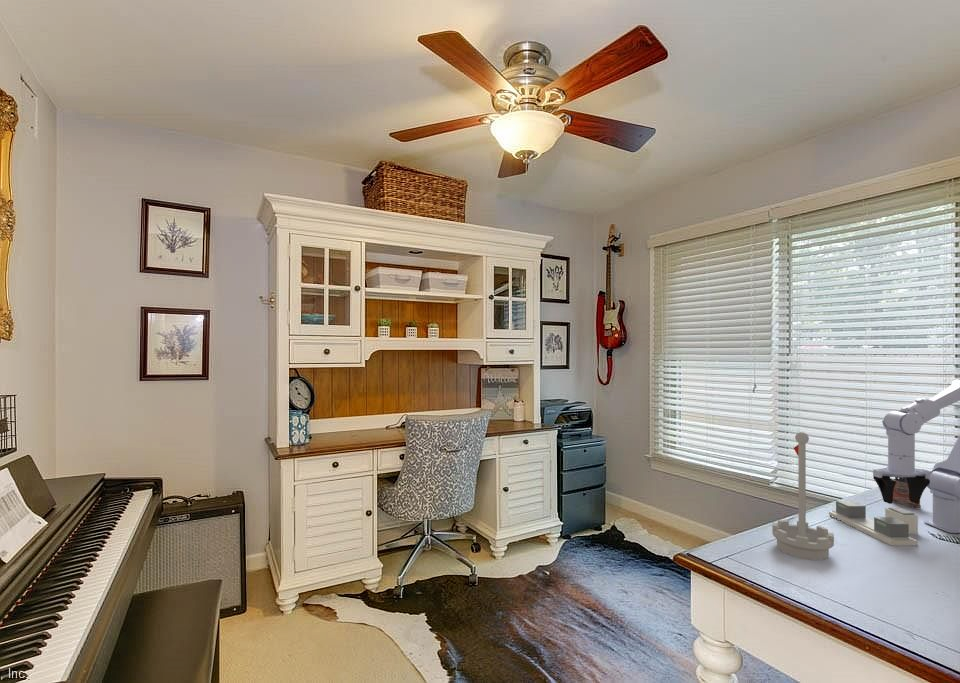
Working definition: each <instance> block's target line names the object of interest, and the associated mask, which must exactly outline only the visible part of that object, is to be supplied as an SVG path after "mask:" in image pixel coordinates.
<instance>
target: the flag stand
mask: <svg viewBox="0 0 960 683" xmlns="http://www.w3.org/2000/svg"><path fill="white" fill-rule="evenodd" d="M794 437H795V438H794V439H795V441H796V442H797V443H798V444H797V445H795V446H794V447H793V450H794V451H795V454H796V455H797V457H798V458H797V459H798V469H797V470H798V472H797V473H798V482H797V483H798V484H797V485H798V520H796V524H790V522H789V520H787V519H780V520H777V523H776V522H773V523H772V524H771V525H772V530H771V531H772V532H771V533H772V536H773V537H774V538H775V539H776V547H777V548H778V549H779V550H780V551H781V552H783V553H785V554H786V555H790V556H793V557H796V558H800V559H804V560H812V561H815V560H816V561H819V560H820V561H822V560H821V559H823V560H826V559H828V558H829V557H830V549H831V548H833V547H834V546H835V534H834V532H829V529H828V528H826V527H824V526H822V525H816V528H815V527H810V526H809V522H807V519H806V518H807V517H806V514H807V513H806V508H807V506H806V501H807V500H806V490H807V489H806V485H807V484H806V483H807V482H806V480H807V479H806V478H807V476H806V474H807V473H806V472H807V470H806V468H807V467H806V464H807V463H806V456H807V455H806V454H807V453H806V452H807V451H806V448H807V447H806V446H807V445H806V444H807V443H808V442H809V439H810V437H809V435H808V434H807V433H806V432H803V431H801V432H797V433H796V434H795V436H794ZM828 556H829V557H828Z"/></svg>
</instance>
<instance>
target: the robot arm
mask: <svg viewBox="0 0 960 683" xmlns="http://www.w3.org/2000/svg"><path fill="white" fill-rule="evenodd" d="M950 383H951V384H950V386H947V387H946V388H945V389H944V390H942V391H940V392H938V393H937V394H935V395H934V396H932V397H931V398H916V399H915V400H914V402H913V403H911V404H909V405H907V406H903V407H901V409H900V410H898V411H897V410H896V411H895V410H892V411H889V412H888V413H887V414H885V416H884V418H883V419H882V421H881V422H882V425H883V428H884V429H885V433H886V435H887V436H886V437H887V466H886V467H883V468H873V469H872V476H873V479H874V481H875V483H876V484H877V486H878V489H879V491H880V493H881V497H882V500H883V502H884V503H887V504H889V505H890V504H893V503H892V501H893V491H894V487H895V484H896V481H894V480H891V479H892V478H895V477H906V479H907V483H908V487H909V499H910V502H913V503H916V504H919V501H920V502H921V498H922V495H923V493H924V492H925V489H926V488H928V489H929V490H930V491H929V492H930V494H932V520H924V522H923V523H924V524H926V525H930V526H932V527H934V528H937V529H940V530H942V531H944V532H947V533H951V534H960V434H959V435H958V438H957V440H956V441H955V443H954V445H953V447H952V449H951V451H950V452H949V454H948V456H947V458H946V459H945V460H943V461H940V462H937V463H935V464H934V466H933V467H932V469H931V470H927V469H923V468H922V469H921V468H916V466H915V465H916V464H915V461H916V459H915V458H916V455H915V454H916V450H915V448H916V444H915V442H916V441H915V440H916V438H915V437H916V434H917V433H919V432H920V430H921V428H922V427H923V425H924V424H925V423H928V422H930V421H932V420H933V419H935V418H937V417H938V416H940V415H941V414H940V413H941V410H942V409H944V408H947V407H949V406H951V405H953V404H956V403H958V402H959V401H960V377H958V378H957V379H955V380H953V381H951V382H950Z"/></svg>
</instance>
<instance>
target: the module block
mask: <svg viewBox="0 0 960 683" xmlns="http://www.w3.org/2000/svg"><path fill="white" fill-rule="evenodd" d="M884 509H885V510H884V514H885V515H884V517H893V518H895V519H898V520H900V521H903V522H905V523H907V524H909V534H919V515H917V514H915V513H914V512H912V511H910V510H906V509H904V508H901V507H896V506H891V507H890V506H888V507H886V508H885V507H884Z"/></svg>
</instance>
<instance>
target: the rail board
mask: <svg viewBox="0 0 960 683" xmlns="http://www.w3.org/2000/svg"><path fill="white" fill-rule="evenodd" d="M866 508H867V507H866V505H864V504H862V503H859V502H858V501H857V502H856V501H855V500H852V499H851V500H835V510H832V511H831V510H830V511H828V516H829V515H831V516H833V517H832V518H834V517H835V518H834V519H836V518H837V519H836V520H838V519H839V520H838V521H840V520H841V521H840V522H842V521H843V522H842V523H844V522H845V523H844V524H846V523H847V524H846V525H848V524H849V525H848V526H850V525H851V526H850V527H852V526H853V527H852V528H854V527H855V528H854V529H856V528H857V529H856V530H858V531H860V532H862V533H865V534H867V535H869V536H870V537H873V538H875V539H877V540H879V541H881V542H883V543H885V544H887V545H889V546H918V540H917V539H914V538H913V537H910V536H909V535H910V533H909V524H907V523H905V522H903V521H900V520H898V519H895V518H893V517H885V516H877V517H875V516H874V517H873V519H870V518H869V517H867V516H866V515H867V514H866V513H867V512H866V511H867V509H866ZM831 516H830V517H831Z"/></svg>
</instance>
